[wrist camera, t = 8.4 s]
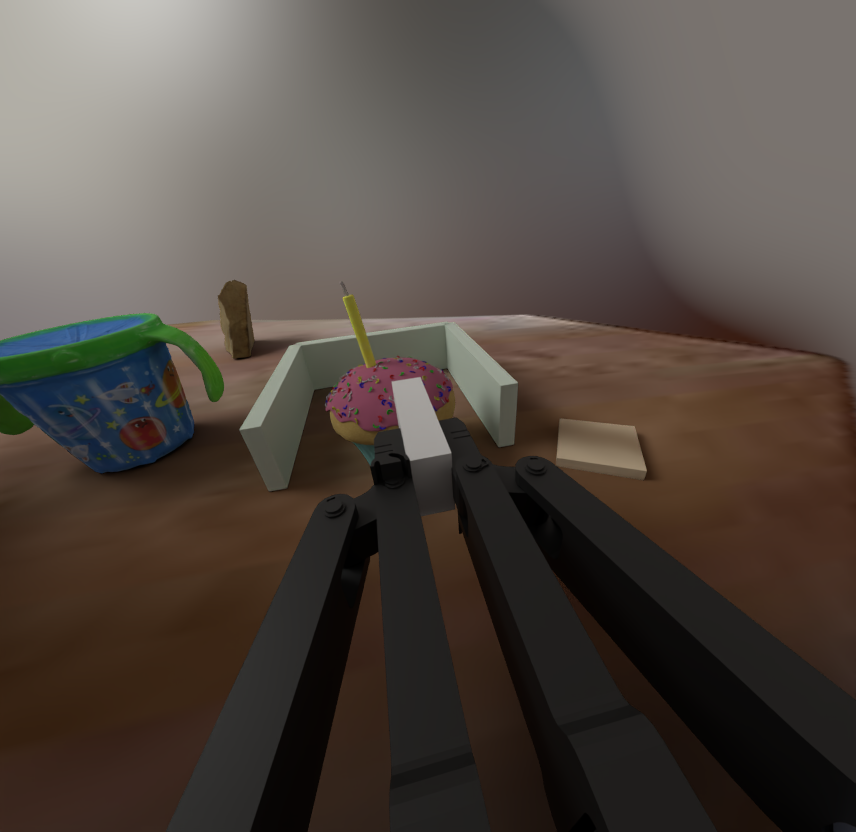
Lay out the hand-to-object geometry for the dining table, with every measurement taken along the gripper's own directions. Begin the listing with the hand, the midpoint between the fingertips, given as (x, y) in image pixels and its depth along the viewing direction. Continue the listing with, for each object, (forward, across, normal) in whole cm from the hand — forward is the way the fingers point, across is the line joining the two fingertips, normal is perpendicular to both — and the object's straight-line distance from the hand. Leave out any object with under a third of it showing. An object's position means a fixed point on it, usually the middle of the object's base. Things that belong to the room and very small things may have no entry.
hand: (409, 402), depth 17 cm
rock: (+38, -23, -7) cm, 45 cm away
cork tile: (+1, +12, -7) cm, 14 cm away
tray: (+11, -1, -6) cm, 13 cm away
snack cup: (+12, -22, -7) cm, 26 cm away
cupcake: (+4, -1, -7) cm, 8 cm away
